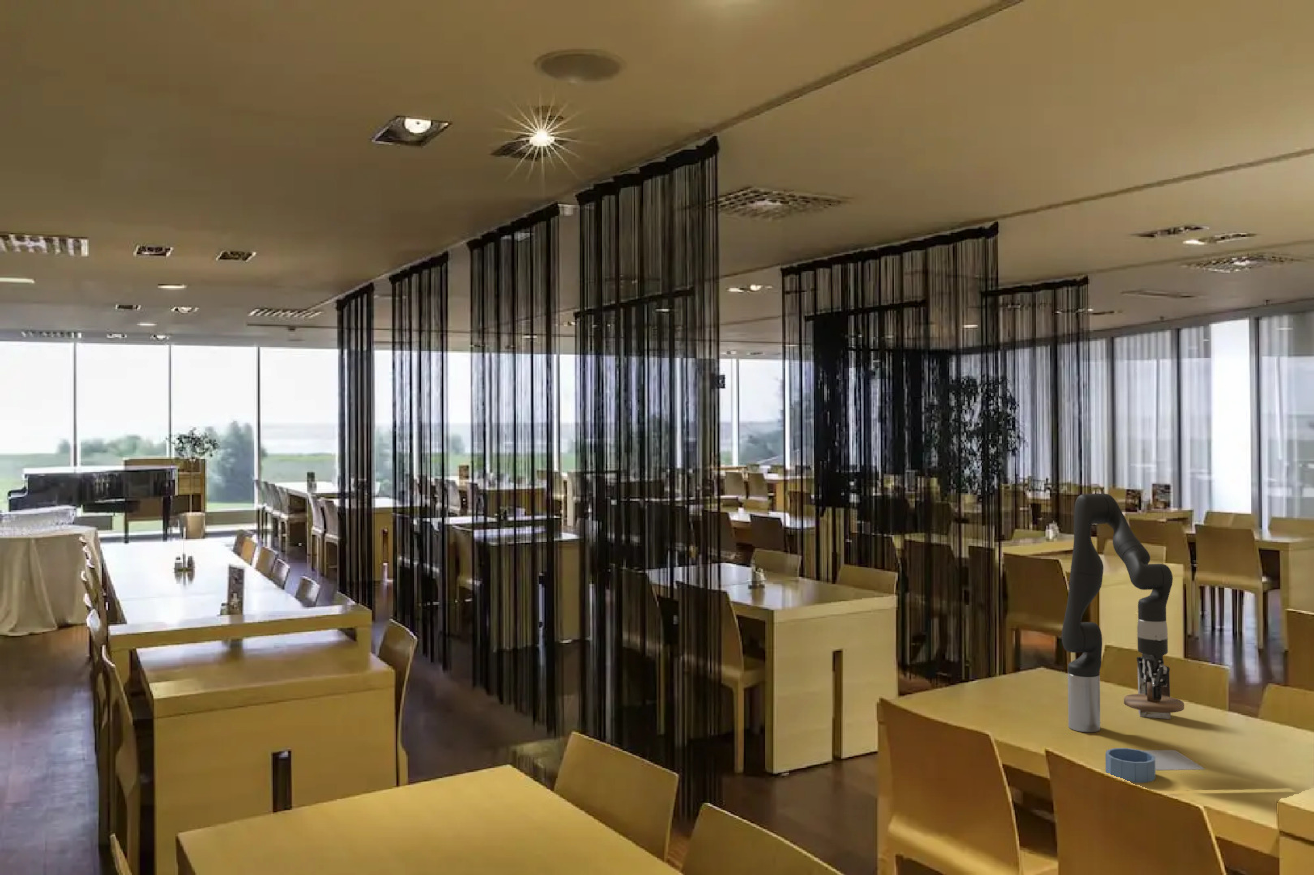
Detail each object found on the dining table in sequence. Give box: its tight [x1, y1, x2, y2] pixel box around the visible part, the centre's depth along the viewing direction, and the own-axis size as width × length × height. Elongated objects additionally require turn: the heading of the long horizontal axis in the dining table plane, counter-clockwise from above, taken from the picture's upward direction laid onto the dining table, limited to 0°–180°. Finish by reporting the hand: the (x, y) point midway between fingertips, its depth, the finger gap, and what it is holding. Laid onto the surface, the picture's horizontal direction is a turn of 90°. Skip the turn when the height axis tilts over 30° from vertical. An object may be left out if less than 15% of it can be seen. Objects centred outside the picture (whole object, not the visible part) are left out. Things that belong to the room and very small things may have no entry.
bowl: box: [1105, 747, 1157, 784], centre depth 269 cm, size 12×12×6 cm
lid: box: [1123, 682, 1185, 714], centre depth 276 cm, size 15×15×6 cm
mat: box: [1142, 749, 1205, 771], centre depth 280 cm, size 16×16×1 cm
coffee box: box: [1137, 665, 1172, 720], centre depth 324 cm, size 9×6×16 cm
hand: (1153, 697), depth 276 cm, fingers closed on lid, 3 cm apart
